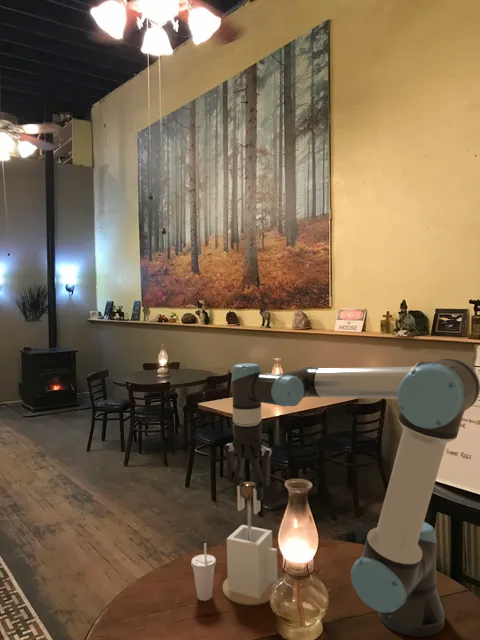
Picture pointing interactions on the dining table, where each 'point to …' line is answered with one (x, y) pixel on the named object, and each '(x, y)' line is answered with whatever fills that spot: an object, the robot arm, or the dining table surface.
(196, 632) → the dining table surface
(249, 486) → the plunger
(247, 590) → the press
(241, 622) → the dining table surface
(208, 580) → the smoothie
